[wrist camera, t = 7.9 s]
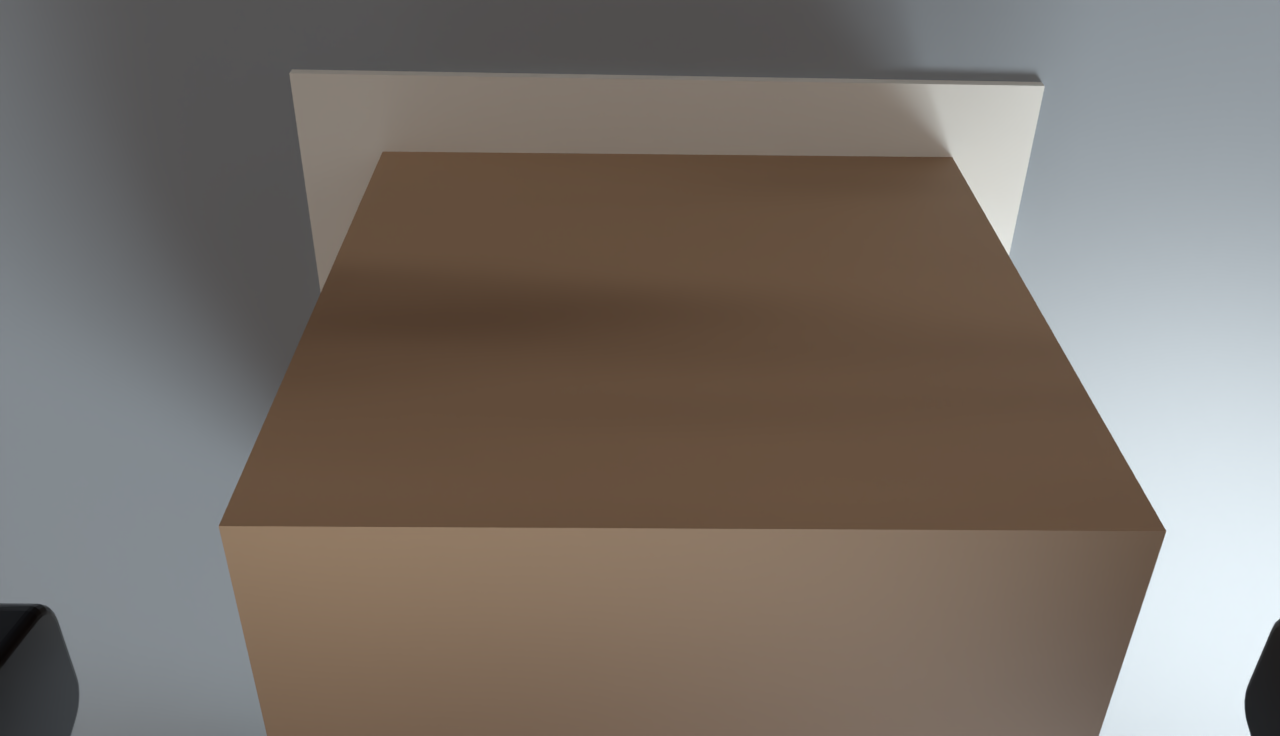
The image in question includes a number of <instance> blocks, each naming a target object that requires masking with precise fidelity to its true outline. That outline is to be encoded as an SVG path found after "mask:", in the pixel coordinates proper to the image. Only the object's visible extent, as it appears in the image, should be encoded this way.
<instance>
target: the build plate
mask: <svg viewBox="0 0 1280 736" xmlns="http://www.w3.org/2000/svg"><path fill="white" fill-rule="evenodd" d="M382 152H480V153H581V154H683V155H784V156H885V157H953V159H954V161H955V163H956V164H957V166H958V168H959V170H960V171H961V173H962V175H963V177H964V178H965V180H966V182H967V184H968V185H969V187H970V189H971V191H972V192H973V194H974V196H975V198H976V199H977V201H978V203H979V205H980V206H981V208H982V210H983V212H984V213H985V215H986V217H987V219H988V220H989V222H990V224H991V226H992V227H993V229H994V231H995V232H996V234H997V236H998V238H999V239H1000V241H1001V243H1002V245H1003V246H1004V248H1005V250H1006V252H1007V253H1008V255H1009V257H1010V259H1011V260H1012V262H1013V264H1014V266H1015V267H1016V269H1017V271H1018V273H1019V274H1020V276H1021V278H1022V280H1023V281H1024V283H1025V285H1026V287H1027V288H1028V290H1029V292H1030V294H1031V295H1032V297H1033V299H1034V301H1035V302H1036V304H1037V306H1038V308H1039V309H1040V311H1041V313H1042V315H1043V316H1044V318H1045V320H1046V322H1047V323H1048V325H1049V327H1050V329H1051V330H1052V332H1053V334H1054V336H1055V337H1056V339H1057V341H1058V343H1059V344H1060V346H1061V348H1062V349H1063V351H1064V353H1065V355H1066V356H1067V358H1068V360H1069V362H1070V363H1071V365H1072V367H1073V369H1074V370H1075V372H1076V374H1077V376H1078V377H1079V379H1080V381H1081V383H1082V384H1083V386H1084V388H1085V390H1086V391H1087V393H1088V395H1089V397H1090V398H1091V400H1092V402H1093V404H1094V405H1095V407H1096V409H1097V411H1098V412H1099V414H1100V416H1101V418H1102V419H1103V421H1104V423H1105V425H1106V426H1107V428H1108V430H1109V432H1110V433H1111V435H1112V437H1113V439H1114V440H1115V442H1116V444H1117V446H1118V447H1119V449H1120V451H1121V453H1122V454H1123V456H1124V458H1125V460H1126V461H1127V463H1128V465H1129V467H1130V468H1131V470H1132V472H1133V473H1134V475H1135V477H1136V479H1137V480H1138V482H1139V484H1140V486H1141V487H1142V489H1143V491H1144V493H1145V494H1146V496H1147V498H1148V500H1149V501H1150V503H1151V505H1152V507H1153V508H1154V510H1155V512H1156V514H1157V515H1158V517H1159V519H1160V521H1161V522H1162V524H1163V526H1164V528H1165V529H1166V534H1165V537H1164V540H1163V543H1162V546H1161V549H1160V552H1159V555H1158V558H1157V561H1156V564H1155V568H1154V571H1153V574H1152V577H1151V580H1150V583H1149V586H1148V589H1147V592H1146V595H1145V598H1144V601H1143V604H1142V607H1141V610H1140V613H1139V616H1138V619H1137V622H1136V625H1135V628H1134V631H1133V634H1132V637H1131V640H1130V643H1129V646H1128V649H1127V652H1126V655H1125V658H1124V661H1123V664H1122V667H1121V670H1120V673H1119V676H1118V679H1117V682H1116V685H1115V688H1114V691H1113V694H1112V697H1111V700H1110V703H1109V706H1108V710H1107V713H1106V716H1105V719H1104V722H1103V725H1102V728H1101V731H1100V734H1099V736H1251V735H1250V732H1249V729H1248V725H1247V721H1246V716H1245V704H1244V700H1245V693H1246V689H1247V686H1248V683H1249V681H1250V679H1251V676H1252V674H1253V671H1254V669H1255V667H1256V664H1257V662H1258V660H1259V657H1260V655H1261V653H1262V650H1263V648H1264V646H1265V643H1266V641H1267V639H1268V636H1269V634H1270V631H1271V629H1272V627H1273V625H1274V624H1275V622H1276V621H1278V620H1279V619H1280V0H0V603H32V604H42V605H46V606H48V607H49V608H50V609H51V610H52V611H53V612H54V613H55V615H56V617H57V619H58V622H59V625H60V628H61V631H62V634H63V637H64V640H65V643H66V646H67V649H68V652H69V655H70V658H71V661H72V664H73V666H74V669H75V672H76V675H77V679H78V683H79V707H78V712H77V716H76V720H75V723H74V727H73V730H72V734H71V736H267V734H266V729H265V725H264V721H263V716H262V712H261V708H260V703H259V699H258V695H257V690H256V686H255V682H254V677H253V673H252V669H251V664H250V660H249V656H248V651H247V647H246V643H245V638H244V634H243V630H242V625H241V621H240V617H239V612H238V608H237V604H236V599H235V595H234V591H233V586H232V582H231V578H230V573H229V569H228V565H227V560H226V556H225V552H224V548H223V543H222V539H221V535H220V530H219V524H220V522H221V519H222V517H223V515H224V513H225V510H226V508H227V506H228V503H229V501H230V499H231V497H232V494H233V492H234V490H235V487H236V485H237V483H238V481H239V478H240V476H241V474H242V471H243V469H244V467H245V465H246V462H247V460H248V458H249V455H250V453H251V451H252V449H253V446H254V444H255V442H256V440H257V437H258V435H259V433H260V430H261V428H262V426H263V424H264V421H265V419H266V417H267V414H268V412H269V410H270V408H271V405H272V403H273V401H274V398H275V396H276V394H277V392H278V389H279V387H280V385H281V382H282V380H283V378H284V376H285V373H286V371H287V369H288V366H289V364H290V362H291V360H292V357H293V355H294V353H295V350H296V348H297V346H298V344H299V341H300V339H301V337H302V334H303V332H304V330H305V328H306V325H307V323H308V321H309V318H310V316H311V314H312V312H313V309H314V307H315V305H316V302H317V300H318V298H319V296H320V293H321V291H322V289H323V286H324V284H325V282H326V280H327V277H328V275H329V273H330V271H331V268H332V266H333V264H334V261H335V259H336V257H337V255H338V252H339V250H340V248H341V245H342V243H343V241H344V239H345V236H346V234H347V232H348V229H349V227H350V225H351V223H352V220H353V218H354V216H355V213H356V211H357V209H358V207H359V204H360V202H361V200H362V197H363V195H364V193H365V191H366V188H367V186H368V184H369V181H370V179H371V177H372V175H373V172H374V170H375V168H376V165H377V163H378V161H379V159H380V156H381V154H382Z"/></svg>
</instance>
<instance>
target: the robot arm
mask: <svg viewBox="0 0 1280 736" xmlns="http://www.w3.org/2000/svg"><path fill="white" fill-rule="evenodd" d="M1244 704H1245V716H1246V721H1247V725H1248V729H1249V732H1250V735H1251V736H1280V619H1279V620H1278V621H1276V622H1275V624H1274V625H1273V627H1272V629H1271V631H1270V634H1269V636H1268V639H1267V641H1266V643H1265V646H1264V648H1263V650H1262V653H1261V655H1260V657H1259V660H1258V662H1257V664H1256V667H1255V669H1254V671H1253V674H1252V676H1251V679H1250V681H1249V683H1248V686H1247V689H1246V693H1245V700H1244ZM78 707H79V683H78V679H77V675H76V672H75V669H74V666H73V664H72V661H71V658H70V655H69V652H68V649H67V646H66V643H65V640H64V637H63V634H62V631H61V628H60V625H59V622H58V619H57V617H56V615H55V613H54V612H53V611H52V610H51V609H50V608H49V607H48V606H46V605H42V604H32V603H0V736H71V734H72V730H73V727H74V723H75V720H76V716H77V712H78Z"/></svg>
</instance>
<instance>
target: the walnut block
mask: <svg viewBox="0 0 1280 736" xmlns="http://www.w3.org/2000/svg"><path fill="white" fill-rule="evenodd" d="M219 530H220V535H221V539H222V543H223V548H224V552H225V556H226V560H227V565H228V569H229V573H230V578H231V582H232V586H233V591H234V595H235V599H236V604H237V608H238V612H239V617H240V621H241V625H242V630H243V634H244V638H245V643H246V647H247V651H248V656H249V660H250V664H251V669H252V673H253V677H254V682H255V686H256V690H257V695H258V699H259V703H260V708H261V712H262V716H263V721H264V725H265V729H266V734H267V736H1099V734H1100V731H1101V728H1102V725H1103V722H1104V719H1105V716H1106V713H1107V710H1108V706H1109V703H1110V700H1111V697H1112V694H1113V691H1114V688H1115V685H1116V682H1117V679H1118V676H1119V673H1120V670H1121V667H1122V664H1123V661H1124V658H1125V655H1126V652H1127V649H1128V646H1129V643H1130V640H1131V637H1132V634H1133V631H1134V628H1135V625H1136V622H1137V619H1138V616H1139V613H1140V610H1141V607H1142V604H1143V601H1144V598H1145V595H1146V592H1147V589H1148V586H1149V583H1150V580H1151V577H1152V574H1153V571H1154V568H1155V564H1156V561H1157V558H1158V555H1159V552H1160V549H1161V546H1162V543H1163V540H1164V537H1165V534H1166V529H1165V528H1164V526H1163V524H1162V522H1161V521H1160V519H1159V517H1158V515H1157V514H1156V512H1155V510H1154V508H1153V507H1152V505H1151V503H1150V501H1149V500H1148V498H1147V496H1146V494H1145V493H1144V491H1143V489H1142V487H1141V486H1140V484H1139V482H1138V480H1137V479H1136V477H1135V475H1134V473H1133V472H1132V470H1131V468H1130V467H1129V465H1128V463H1127V461H1126V460H1125V458H1124V456H1123V454H1122V453H1121V451H1120V449H1119V447H1118V446H1117V444H1116V442H1115V440H1114V439H1113V437H1112V435H1111V433H1110V432H1109V430H1108V428H1107V426H1106V425H1105V423H1104V421H1103V419H1102V418H1101V416H1100V414H1099V412H1098V411H1097V409H1096V407H1095V405H1094V404H1093V402H1092V400H1091V398H1090V397H1089V395H1088V393H1087V391H1086V390H1085V388H1084V386H1083V384H1082V383H1081V381H1080V379H1079V377H1078V376H1077V374H1076V372H1075V370H1074V369H1073V367H1072V365H1071V363H1070V362H1069V360H1068V358H1067V356H1066V355H1065V353H1064V351H1063V349H1062V348H1061V346H1060V344H1059V343H1058V341H1057V339H1056V337H1055V336H1054V334H1053V332H1052V330H1051V329H1050V327H1049V325H1048V323H1047V322H1046V320H1045V318H1044V316H1043V315H1042V313H1041V311H1040V309H1039V308H1038V306H1037V304H1036V302H1035V301H1034V299H1033V297H1032V295H1031V294H1030V292H1029V290H1028V288H1027V287H1026V285H1025V283H1024V281H1023V280H1022V278H1021V276H1020V274H1019V273H1018V271H1017V269H1016V267H1015V266H1014V264H1013V262H1012V260H1011V259H1010V257H1009V255H1008V253H1007V252H1006V250H1005V248H1004V246H1003V245H1002V243H1001V241H1000V239H999V238H998V236H997V234H996V232H995V231H994V229H993V227H992V226H991V224H990V222H989V220H988V219H987V217H986V215H985V213H984V212H983V210H982V208H981V206H980V205H979V203H978V201H977V199H976V198H975V196H974V194H973V192H972V191H971V189H970V187H969V185H968V184H967V182H966V180H965V178H964V177H963V175H962V173H961V171H960V170H959V168H958V166H957V164H956V163H955V161H954V159H953V157H885V156H784V155H683V154H581V153H480V152H382V154H381V156H380V159H379V161H378V163H377V165H376V168H375V170H374V172H373V175H372V177H371V179H370V181H369V184H368V186H367V188H366V191H365V193H364V195H363V197H362V200H361V202H360V204H359V207H358V209H357V211H356V213H355V216H354V218H353V220H352V223H351V225H350V227H349V229H348V232H347V234H346V236H345V239H344V241H343V243H342V245H341V248H340V250H339V252H338V255H337V257H336V259H335V261H334V264H333V266H332V268H331V271H330V273H329V275H328V277H327V280H326V282H325V284H324V286H323V289H322V291H321V293H320V296H319V298H318V300H317V302H316V305H315V307H314V309H313V312H312V314H311V316H310V318H309V321H308V323H307V325H306V328H305V330H304V332H303V334H302V337H301V339H300V341H299V344H298V346H297V348H296V350H295V353H294V355H293V357H292V360H291V362H290V364H289V366H288V369H287V371H286V373H285V376H284V378H283V380H282V382H281V385H280V387H279V389H278V392H277V394H276V396H275V398H274V401H273V403H272V405H271V408H270V410H269V412H268V414H267V417H266V419H265V421H264V424H263V426H262V428H261V430H260V433H259V435H258V437H257V440H256V442H255V444H254V446H253V449H252V451H251V453H250V455H249V458H248V460H247V462H246V465H245V467H244V469H243V471H242V474H241V476H240V478H239V481H238V483H237V485H236V487H235V490H234V492H233V494H232V497H231V499H230V501H229V503H228V506H227V508H226V510H225V513H224V515H223V517H222V519H221V522H220V524H219Z"/></svg>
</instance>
